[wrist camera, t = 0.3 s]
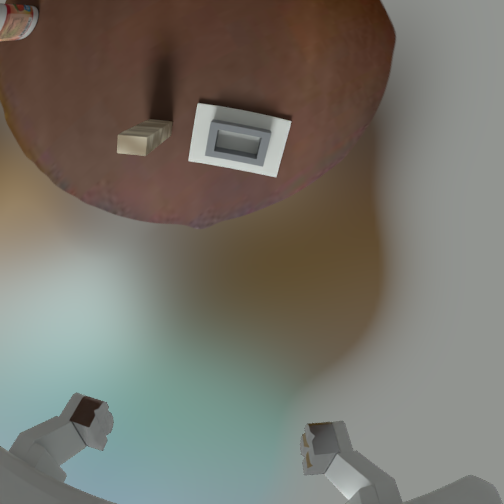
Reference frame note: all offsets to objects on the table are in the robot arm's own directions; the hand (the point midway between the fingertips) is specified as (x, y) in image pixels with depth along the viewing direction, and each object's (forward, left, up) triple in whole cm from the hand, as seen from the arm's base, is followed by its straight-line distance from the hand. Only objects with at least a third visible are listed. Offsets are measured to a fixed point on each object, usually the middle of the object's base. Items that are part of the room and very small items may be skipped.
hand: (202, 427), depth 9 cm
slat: (+9, -14, -52) cm, 54 cm away
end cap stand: (+1, 0, -52) cm, 52 cm away
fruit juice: (+6, -64, -52) cm, 82 cm away
